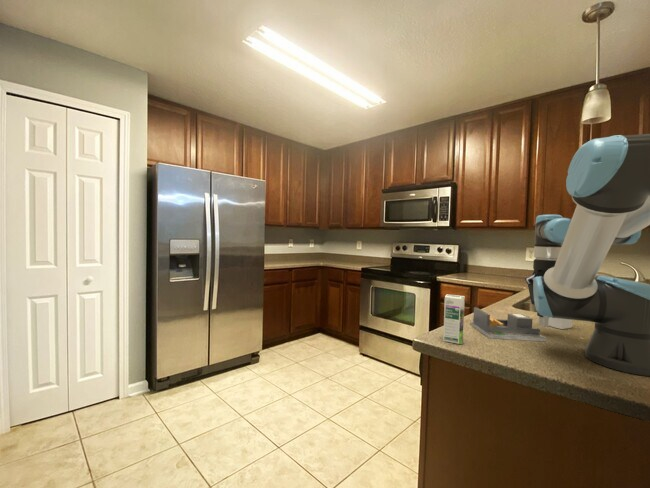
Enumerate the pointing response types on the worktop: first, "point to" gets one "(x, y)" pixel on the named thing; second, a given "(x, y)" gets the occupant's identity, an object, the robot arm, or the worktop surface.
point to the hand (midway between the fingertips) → (543, 325)
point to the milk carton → (560, 323)
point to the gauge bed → (503, 329)
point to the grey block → (519, 321)
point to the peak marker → (494, 322)
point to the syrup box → (453, 318)
